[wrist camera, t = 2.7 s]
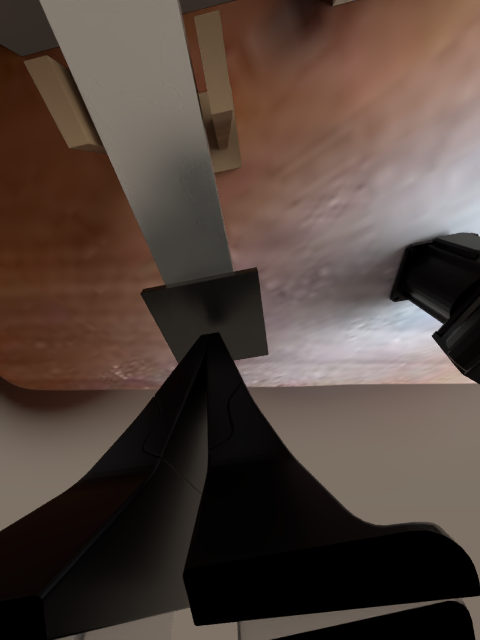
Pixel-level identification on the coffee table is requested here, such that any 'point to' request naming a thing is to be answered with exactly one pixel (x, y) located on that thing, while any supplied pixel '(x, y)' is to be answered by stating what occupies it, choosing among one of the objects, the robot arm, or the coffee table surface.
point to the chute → (48, 24)
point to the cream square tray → (340, 2)
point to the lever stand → (214, 103)
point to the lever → (162, 164)
